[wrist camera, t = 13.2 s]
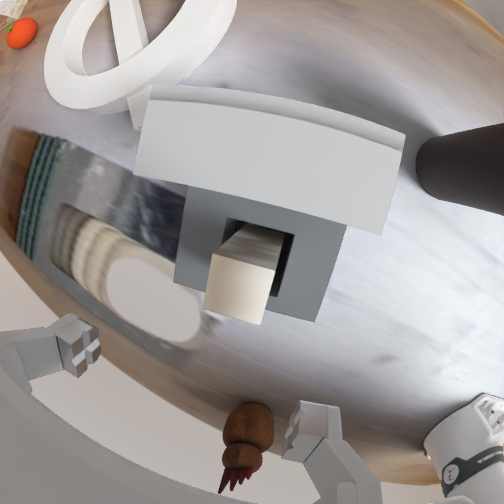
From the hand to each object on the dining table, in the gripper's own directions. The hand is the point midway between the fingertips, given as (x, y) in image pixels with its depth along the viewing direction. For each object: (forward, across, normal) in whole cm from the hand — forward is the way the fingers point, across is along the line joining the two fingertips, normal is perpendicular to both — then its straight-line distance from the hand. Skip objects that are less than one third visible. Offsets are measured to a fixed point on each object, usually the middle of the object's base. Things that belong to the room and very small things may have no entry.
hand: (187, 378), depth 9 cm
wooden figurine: (+21, -5, +25) cm, 33 cm away
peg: (+21, 0, 0) cm, 21 cm away
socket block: (+21, 0, -3) cm, 21 cm away
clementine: (+20, +54, -30) cm, 65 cm away
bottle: (+21, -16, -13) cm, 30 cm away
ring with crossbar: (+21, +24, -25) cm, 40 cm away
